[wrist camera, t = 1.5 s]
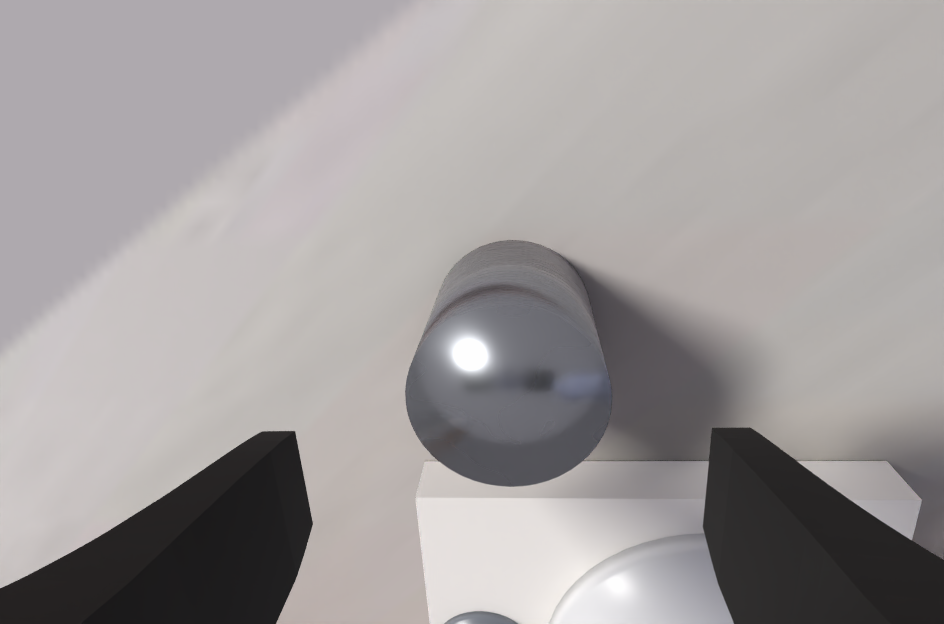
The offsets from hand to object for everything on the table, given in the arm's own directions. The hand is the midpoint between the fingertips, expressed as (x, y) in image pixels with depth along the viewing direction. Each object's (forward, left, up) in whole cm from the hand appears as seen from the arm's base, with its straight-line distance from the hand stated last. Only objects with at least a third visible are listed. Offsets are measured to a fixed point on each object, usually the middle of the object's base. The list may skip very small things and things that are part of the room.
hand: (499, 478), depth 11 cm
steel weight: (0, 0, -8) cm, 8 cm away
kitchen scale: (-4, +11, -8) cm, 14 cm away
